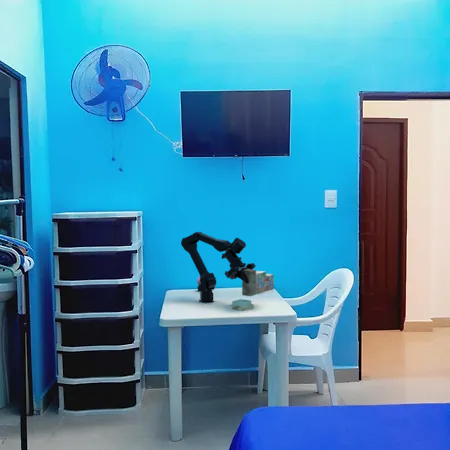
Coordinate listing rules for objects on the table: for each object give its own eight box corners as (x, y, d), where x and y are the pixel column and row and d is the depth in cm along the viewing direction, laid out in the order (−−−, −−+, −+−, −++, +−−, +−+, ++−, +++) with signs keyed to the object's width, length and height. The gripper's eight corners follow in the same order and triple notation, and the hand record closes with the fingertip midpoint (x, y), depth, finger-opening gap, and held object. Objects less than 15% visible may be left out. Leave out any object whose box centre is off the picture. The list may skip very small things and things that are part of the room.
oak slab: (231, 309, 238) (231, 305, 238) (242, 307, 244) (242, 302, 243) (243, 312, 232) (243, 307, 232) (253, 309, 238) (253, 304, 238)
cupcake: (201, 289, 294) (201, 273, 294) (213, 290, 290) (213, 274, 290) (194, 291, 286) (194, 275, 286) (206, 292, 282) (206, 276, 282)
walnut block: (242, 295, 238) (242, 270, 238) (247, 293, 242) (248, 269, 242) (250, 296, 235) (250, 271, 235) (255, 295, 239) (255, 270, 239)
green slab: (232, 305, 238) (232, 301, 238) (240, 302, 243) (240, 298, 243) (242, 306, 233) (242, 303, 233) (251, 304, 238) (251, 300, 238)
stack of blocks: (265, 288, 295) (265, 268, 294) (274, 288, 291) (273, 269, 291) (247, 293, 278) (246, 273, 277) (256, 294, 274) (255, 274, 273)
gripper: (235, 267, 255) (252, 289, 249) (214, 271, 240) (231, 295, 234) (247, 254, 250) (264, 276, 244) (226, 257, 235) (244, 281, 229)
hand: (251, 282), depth 238 cm, fingers closed on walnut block, 5 cm apart
